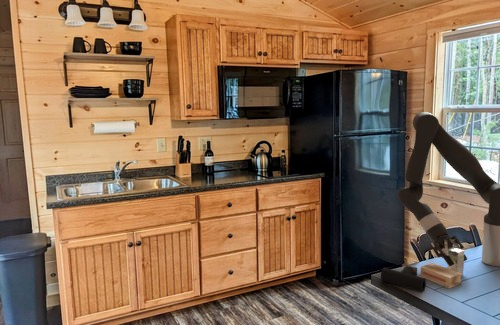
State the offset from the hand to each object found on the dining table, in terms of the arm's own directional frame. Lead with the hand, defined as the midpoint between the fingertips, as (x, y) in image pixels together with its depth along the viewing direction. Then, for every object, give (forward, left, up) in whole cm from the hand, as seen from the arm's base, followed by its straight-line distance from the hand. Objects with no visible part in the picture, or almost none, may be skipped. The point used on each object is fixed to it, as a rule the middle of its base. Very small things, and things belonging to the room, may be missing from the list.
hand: (459, 262), depth 148 cm
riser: (+9, -1, -5) cm, 11 cm away
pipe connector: (+22, -7, -6) cm, 24 cm away
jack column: (0, -1, -5) cm, 5 cm away
